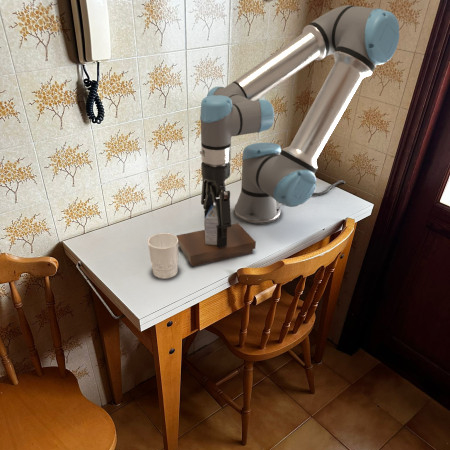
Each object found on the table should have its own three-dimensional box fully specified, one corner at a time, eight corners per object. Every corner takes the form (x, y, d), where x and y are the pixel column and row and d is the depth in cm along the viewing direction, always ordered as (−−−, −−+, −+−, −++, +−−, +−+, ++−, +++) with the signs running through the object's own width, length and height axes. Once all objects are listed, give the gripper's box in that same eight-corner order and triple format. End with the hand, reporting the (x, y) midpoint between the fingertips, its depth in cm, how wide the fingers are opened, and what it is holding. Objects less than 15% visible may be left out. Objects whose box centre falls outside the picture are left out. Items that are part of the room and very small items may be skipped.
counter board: (237, 234, 138) (238, 222, 136) (254, 253, 130) (255, 241, 127) (177, 247, 132) (176, 235, 129) (190, 268, 123) (190, 256, 121)
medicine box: (220, 246, 125) (220, 219, 120) (204, 244, 126) (204, 217, 120) (225, 232, 131) (226, 206, 126) (210, 231, 132) (210, 204, 126)
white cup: (147, 278, 119) (143, 246, 113) (156, 262, 125) (153, 231, 119) (175, 281, 118) (173, 250, 112) (183, 265, 124) (181, 234, 118)
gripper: (187, 149, 121) (190, 223, 135) (218, 179, 105) (217, 259, 119) (213, 146, 123) (213, 218, 137) (247, 175, 108) (242, 253, 122)
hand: (215, 237), depth 128 cm, fingers closed on medicine box, 9 cm apart
